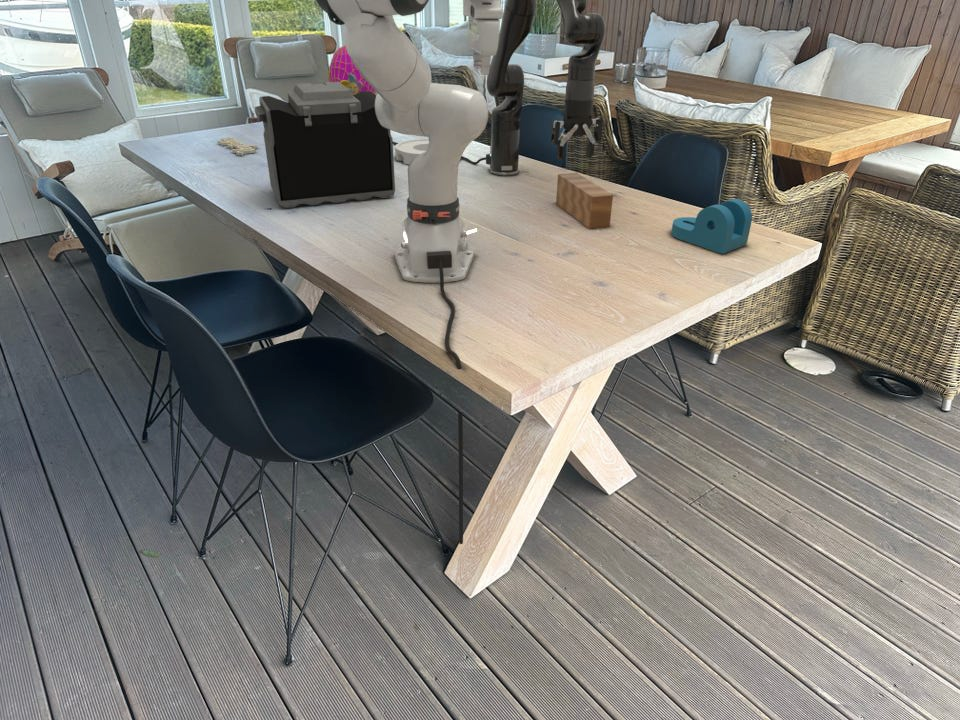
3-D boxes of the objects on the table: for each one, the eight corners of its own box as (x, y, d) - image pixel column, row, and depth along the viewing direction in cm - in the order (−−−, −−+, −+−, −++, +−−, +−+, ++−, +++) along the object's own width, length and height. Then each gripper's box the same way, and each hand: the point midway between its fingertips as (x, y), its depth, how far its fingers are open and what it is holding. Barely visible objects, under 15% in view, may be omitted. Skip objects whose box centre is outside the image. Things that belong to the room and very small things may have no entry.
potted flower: (342, 144, 260) (336, 73, 247) (351, 139, 266) (346, 70, 254) (365, 146, 257) (360, 74, 245) (374, 141, 264) (369, 71, 251)
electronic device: (382, 177, 221) (376, 78, 206) (401, 197, 203) (396, 90, 188) (265, 188, 209) (249, 84, 194) (274, 210, 192) (257, 97, 176)
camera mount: (746, 244, 173) (755, 203, 168) (722, 254, 167) (730, 212, 162) (687, 225, 185) (693, 186, 180) (662, 233, 179) (668, 194, 174)
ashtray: (454, 167, 232) (454, 155, 230) (388, 164, 235) (387, 152, 233) (466, 151, 252) (466, 140, 250) (404, 148, 255) (404, 137, 253)
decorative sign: (265, 149, 247) (238, 153, 242) (266, 152, 248) (239, 156, 243) (238, 135, 265) (212, 139, 260) (239, 138, 266) (213, 141, 260)
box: (609, 226, 184) (613, 195, 180) (589, 228, 182) (592, 197, 178) (574, 201, 202) (576, 172, 198) (555, 203, 201) (557, 174, 196)
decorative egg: (362, 116, 305) (357, 42, 290) (386, 123, 292) (382, 46, 277) (324, 121, 294) (316, 45, 279) (347, 129, 281) (340, 49, 266)
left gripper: (461, 4, 167) (461, 65, 174) (476, 10, 150) (475, 78, 157) (487, 4, 168) (485, 65, 175) (504, 10, 151) (502, 77, 158)
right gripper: (597, 93, 188) (592, 153, 196) (549, 95, 184) (545, 156, 192) (610, 97, 182) (604, 159, 190) (560, 100, 178) (556, 163, 186)
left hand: (481, 71), depth 166 cm, fingers open, 8 cm apart
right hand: (574, 158), depth 191 cm, fingers open, 8 cm apart
